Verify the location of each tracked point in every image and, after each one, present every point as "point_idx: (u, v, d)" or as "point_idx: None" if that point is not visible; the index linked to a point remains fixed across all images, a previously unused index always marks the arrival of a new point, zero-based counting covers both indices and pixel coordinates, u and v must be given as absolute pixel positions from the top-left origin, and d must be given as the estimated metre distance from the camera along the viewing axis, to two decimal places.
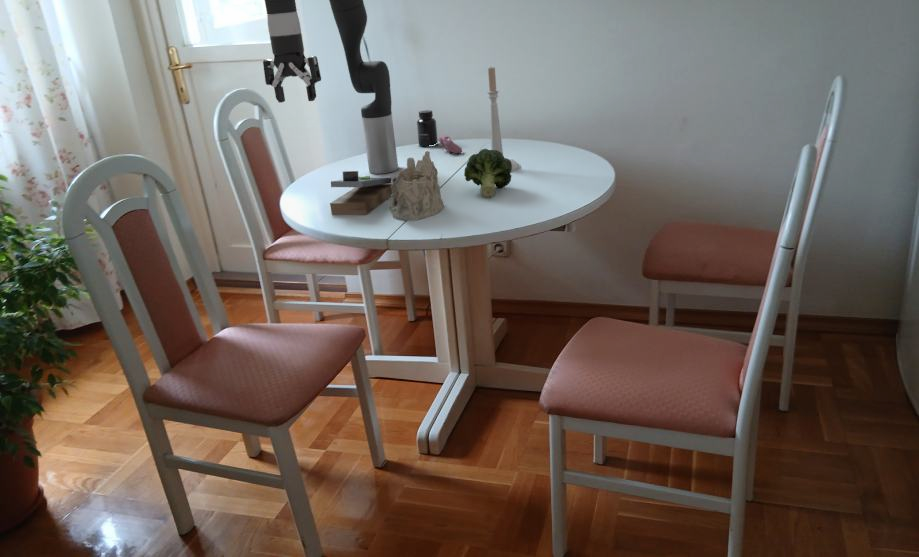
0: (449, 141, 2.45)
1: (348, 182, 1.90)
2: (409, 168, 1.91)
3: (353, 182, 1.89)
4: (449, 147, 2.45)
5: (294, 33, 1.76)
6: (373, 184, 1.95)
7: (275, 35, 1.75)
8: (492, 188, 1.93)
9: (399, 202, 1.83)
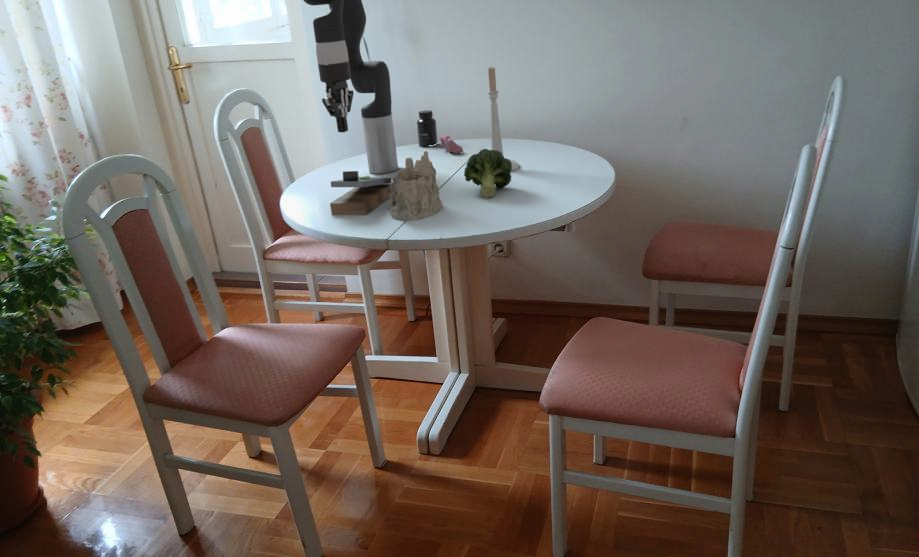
0: (450, 141, 2.45)
1: (348, 182, 1.90)
2: (407, 168, 1.91)
3: (353, 182, 1.89)
4: (450, 147, 2.45)
5: None
6: (373, 184, 1.95)
7: (345, 61, 1.79)
8: (492, 188, 1.93)
9: (398, 202, 1.83)
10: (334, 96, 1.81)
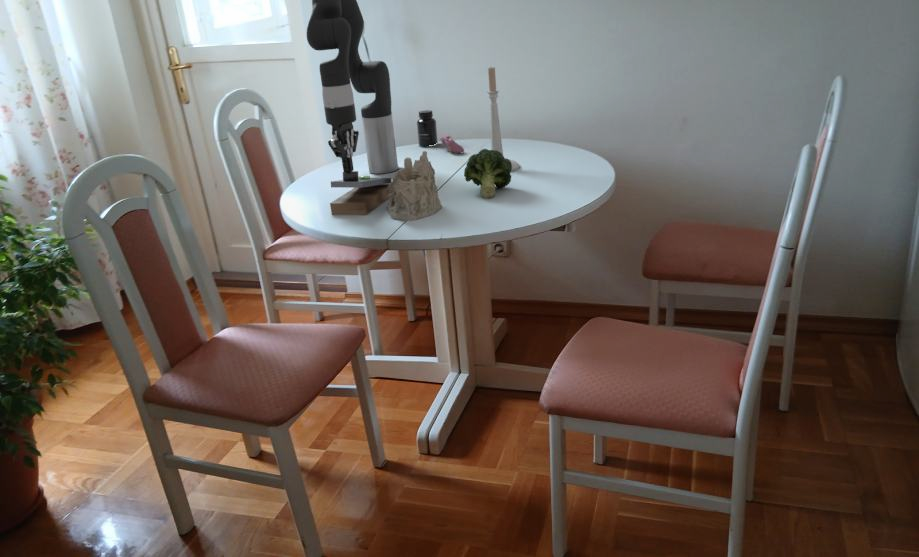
0: (451, 141, 2.45)
1: (348, 182, 1.90)
2: (406, 168, 1.91)
3: (353, 182, 1.89)
4: (451, 147, 2.46)
5: None
6: (373, 184, 1.95)
7: (351, 104, 1.83)
8: (492, 188, 1.93)
9: (396, 202, 1.83)
10: (340, 138, 1.84)
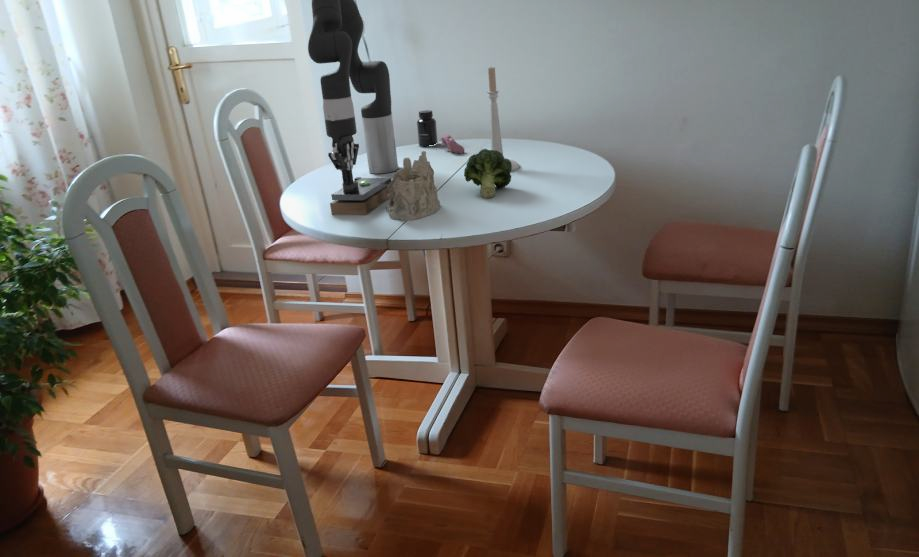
0: (451, 141, 2.46)
1: (349, 195, 1.91)
2: (405, 168, 1.91)
3: (354, 195, 1.90)
4: (451, 147, 2.46)
5: None
6: (374, 192, 1.95)
7: (351, 116, 1.84)
8: (492, 188, 1.93)
9: (396, 202, 1.83)
10: (340, 150, 1.85)
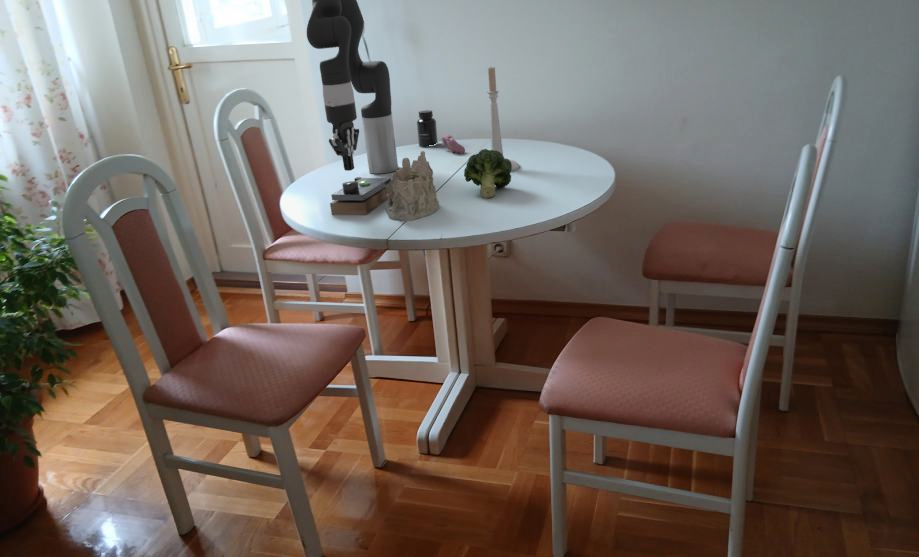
0: (452, 141, 2.46)
1: (349, 195, 1.91)
2: (404, 168, 1.91)
3: (354, 196, 1.90)
4: (452, 146, 2.46)
5: None
6: (374, 192, 1.95)
7: (351, 102, 1.83)
8: (492, 188, 1.93)
9: (395, 202, 1.83)
10: (340, 136, 1.84)
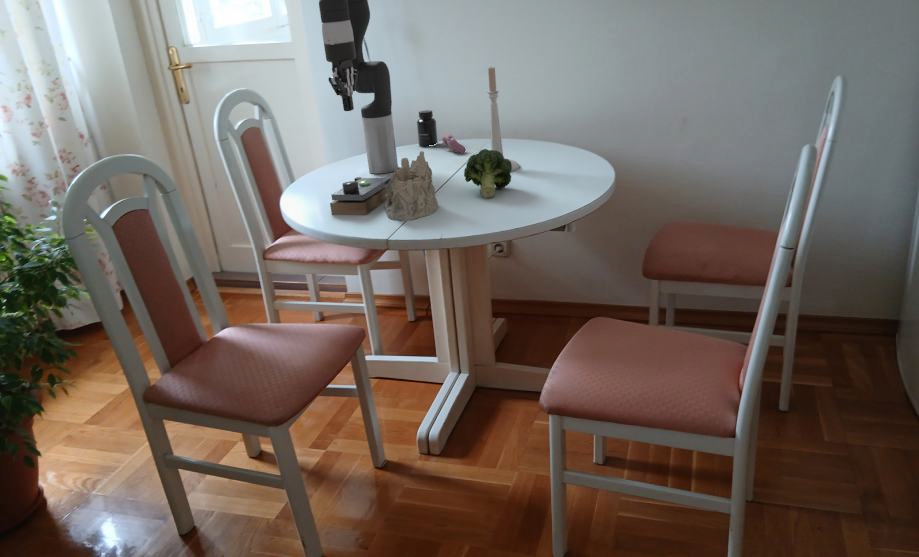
0: (453, 140, 2.46)
1: (349, 195, 1.91)
2: (403, 168, 1.91)
3: (354, 196, 1.90)
4: (453, 146, 2.46)
5: None
6: (374, 192, 1.95)
7: (351, 40, 1.83)
8: (492, 188, 1.93)
9: (394, 202, 1.83)
10: (340, 75, 1.85)
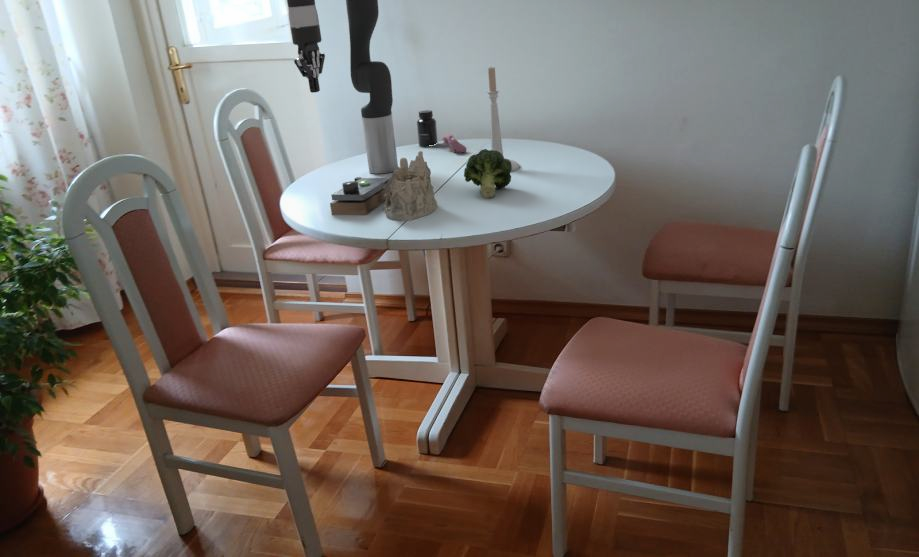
0: (453, 140, 2.46)
1: (349, 195, 1.91)
2: (402, 168, 1.92)
3: (354, 196, 1.90)
4: (454, 146, 2.46)
5: None
6: (374, 192, 1.95)
7: (316, 24, 1.92)
8: (492, 189, 1.93)
9: (393, 202, 1.83)
10: (306, 57, 1.94)
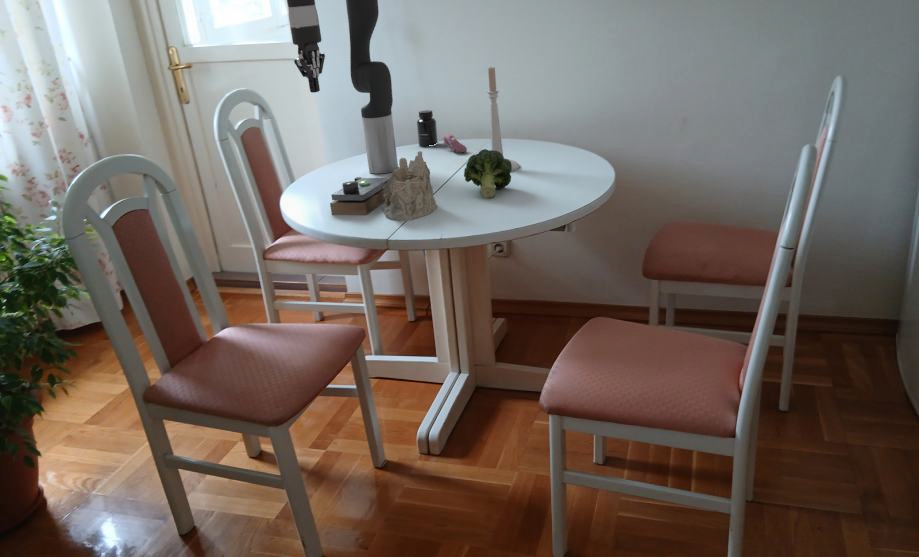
0: (454, 140, 2.46)
1: (349, 195, 1.91)
2: (401, 168, 1.92)
3: (354, 196, 1.90)
4: (454, 146, 2.46)
5: None
6: (374, 192, 1.95)
7: (316, 24, 1.92)
8: (492, 189, 1.93)
9: (392, 202, 1.83)
10: (306, 57, 1.94)
